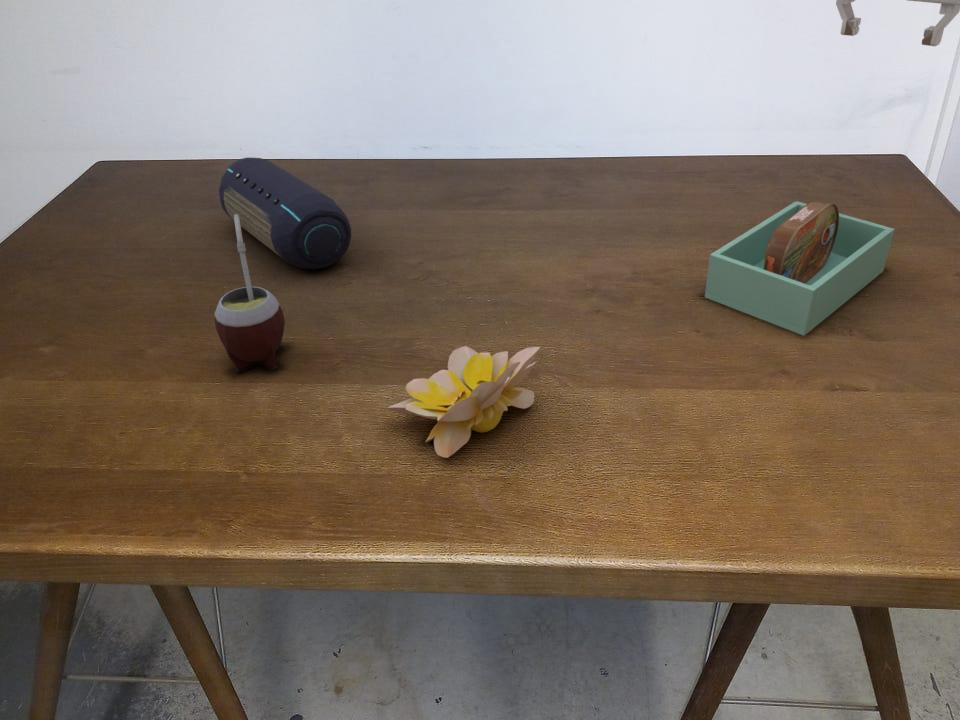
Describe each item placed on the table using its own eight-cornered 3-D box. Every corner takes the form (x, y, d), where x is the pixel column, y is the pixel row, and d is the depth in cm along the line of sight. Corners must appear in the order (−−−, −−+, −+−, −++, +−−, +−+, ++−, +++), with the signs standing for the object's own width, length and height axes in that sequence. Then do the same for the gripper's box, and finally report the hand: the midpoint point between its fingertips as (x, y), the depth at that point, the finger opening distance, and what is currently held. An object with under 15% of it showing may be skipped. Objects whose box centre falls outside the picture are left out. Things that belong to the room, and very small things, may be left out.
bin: (788, 241, 107) (795, 200, 104) (883, 272, 100) (895, 228, 96) (704, 298, 96) (709, 254, 93) (803, 337, 89) (813, 290, 85)
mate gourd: (252, 387, 85) (220, 260, 77) (209, 361, 90) (174, 238, 81) (308, 355, 90) (283, 232, 81) (264, 332, 94) (236, 212, 86)
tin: (777, 307, 92) (790, 240, 88) (752, 298, 94) (763, 232, 89) (834, 258, 101) (848, 195, 96) (809, 251, 103) (822, 189, 98)
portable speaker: (218, 226, 119) (201, 160, 114) (280, 206, 124) (267, 142, 118) (296, 289, 102) (281, 216, 97) (364, 264, 107) (354, 193, 102)
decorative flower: (487, 343, 87) (493, 273, 80) (561, 408, 82) (575, 339, 74) (372, 411, 80) (367, 341, 73) (445, 487, 75) (448, 419, 67)
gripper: (1035, -97, 83) (995, 45, 91) (839, -101, 95) (819, 24, 103) (1013, -89, 79) (974, 58, 87) (813, -94, 92) (794, 34, 100)
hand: (888, 39), depth 95 cm, fingers open, 8 cm apart
